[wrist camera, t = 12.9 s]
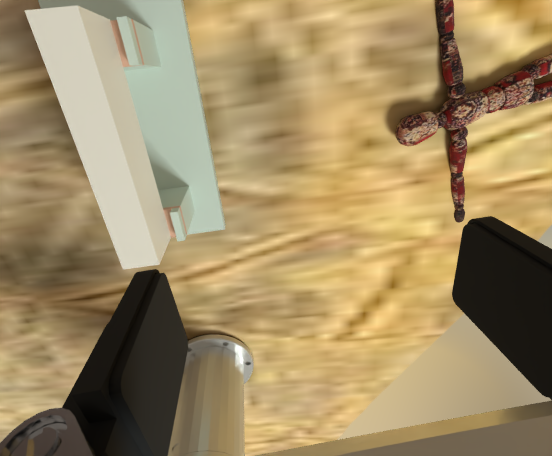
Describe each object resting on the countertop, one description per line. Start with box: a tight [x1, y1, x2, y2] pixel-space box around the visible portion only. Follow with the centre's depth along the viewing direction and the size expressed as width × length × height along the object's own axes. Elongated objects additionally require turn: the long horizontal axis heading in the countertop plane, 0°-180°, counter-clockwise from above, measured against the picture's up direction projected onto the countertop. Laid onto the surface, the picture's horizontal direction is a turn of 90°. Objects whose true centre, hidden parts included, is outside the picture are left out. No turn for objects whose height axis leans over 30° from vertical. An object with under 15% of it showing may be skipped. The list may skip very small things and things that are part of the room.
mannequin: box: [396, 0, 552, 222], centre depth 36 cm, size 26×29×4 cm
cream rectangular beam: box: [24, 5, 171, 269], centre depth 24 cm, size 18×4×5 cm, turn 6°
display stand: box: [38, 0, 225, 241], centre depth 30 cm, size 24×12×9 cm, turn 6°
